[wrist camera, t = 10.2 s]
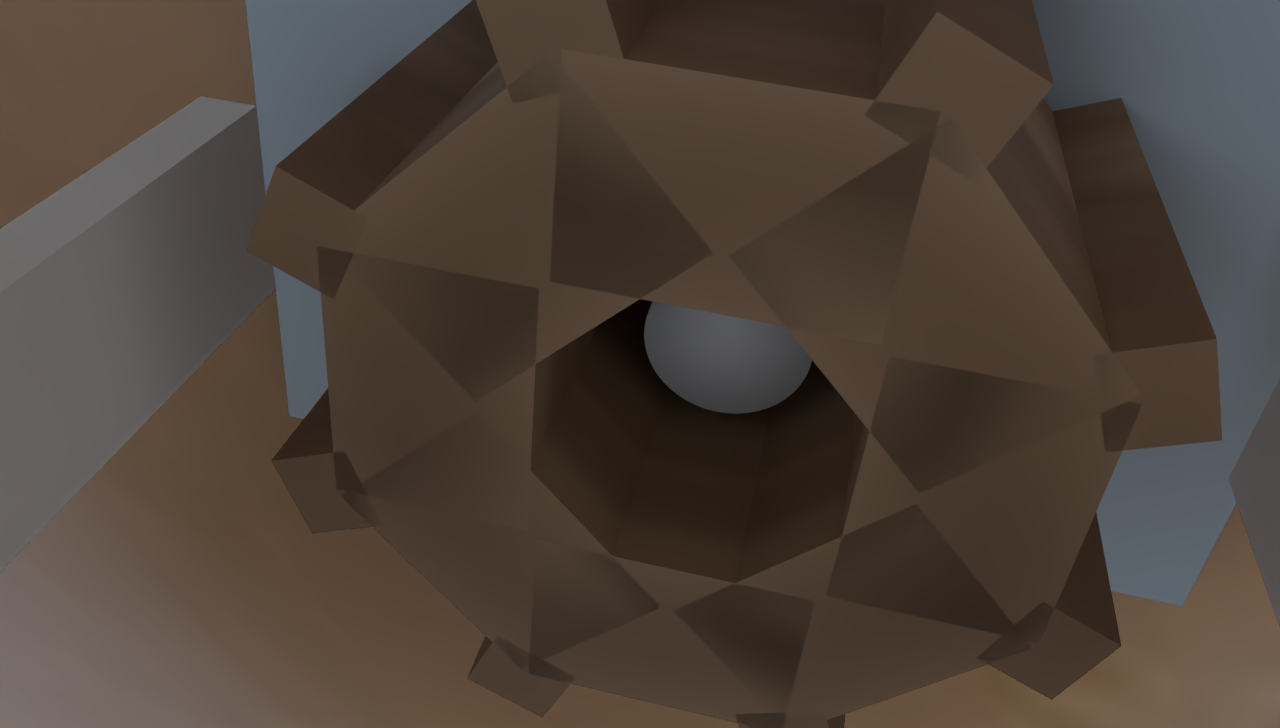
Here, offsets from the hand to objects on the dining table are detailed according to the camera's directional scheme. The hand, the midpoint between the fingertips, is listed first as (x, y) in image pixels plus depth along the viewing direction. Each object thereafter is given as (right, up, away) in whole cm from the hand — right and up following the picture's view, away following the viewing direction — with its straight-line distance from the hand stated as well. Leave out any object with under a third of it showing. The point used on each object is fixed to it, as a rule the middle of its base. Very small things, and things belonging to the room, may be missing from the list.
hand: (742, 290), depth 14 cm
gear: (+1, +1, +2) cm, 3 cm away
